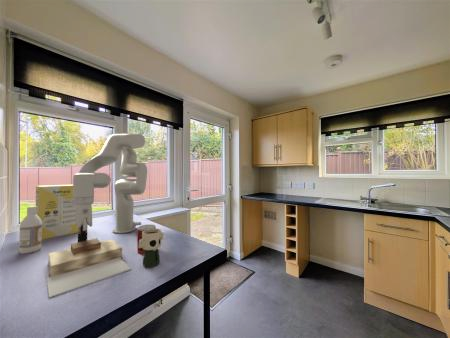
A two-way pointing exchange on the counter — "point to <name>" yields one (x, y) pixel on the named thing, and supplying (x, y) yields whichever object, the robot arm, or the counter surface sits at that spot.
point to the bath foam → (30, 232)
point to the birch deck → (82, 258)
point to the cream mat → (85, 276)
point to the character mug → (151, 246)
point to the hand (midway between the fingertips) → (82, 242)
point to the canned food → (139, 236)
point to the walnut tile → (85, 246)
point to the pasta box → (56, 210)
